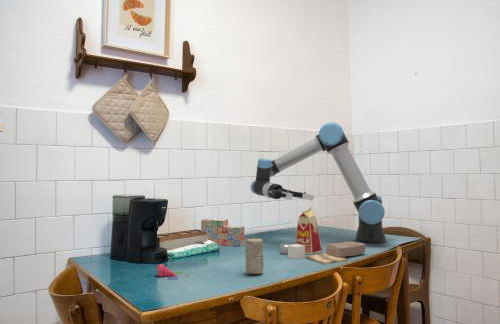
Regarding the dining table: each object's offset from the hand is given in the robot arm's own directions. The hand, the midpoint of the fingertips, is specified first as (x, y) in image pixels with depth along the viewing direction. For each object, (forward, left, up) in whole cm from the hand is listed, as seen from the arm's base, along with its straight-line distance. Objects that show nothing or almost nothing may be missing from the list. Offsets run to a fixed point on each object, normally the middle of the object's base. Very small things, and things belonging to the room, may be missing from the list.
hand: (302, 197), depth 174 cm
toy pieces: (+65, +15, -25) cm, 71 cm away
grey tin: (+12, +4, -24) cm, 27 cm away
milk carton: (+1, +6, -24) cm, 25 cm away
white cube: (+12, +12, -24) cm, 29 cm away
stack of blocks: (+27, -30, -24) cm, 47 cm away
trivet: (+3, +21, -24) cm, 32 cm away
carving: (+39, +26, -24) cm, 53 cm away
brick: (-9, +19, -24) cm, 32 cm away
